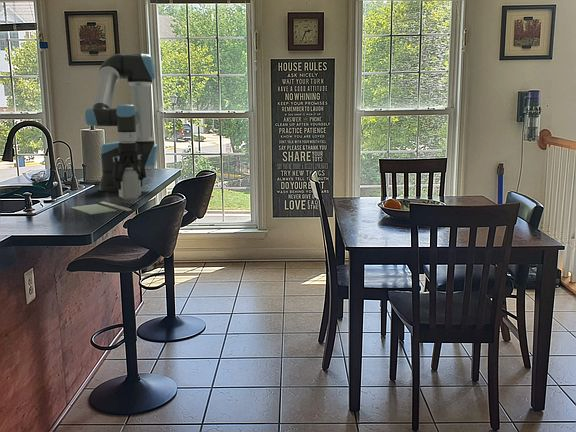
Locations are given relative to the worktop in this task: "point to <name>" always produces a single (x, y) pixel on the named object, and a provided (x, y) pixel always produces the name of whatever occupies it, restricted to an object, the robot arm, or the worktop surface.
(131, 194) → the can
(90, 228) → the worktop surface
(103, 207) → the mat
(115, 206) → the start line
